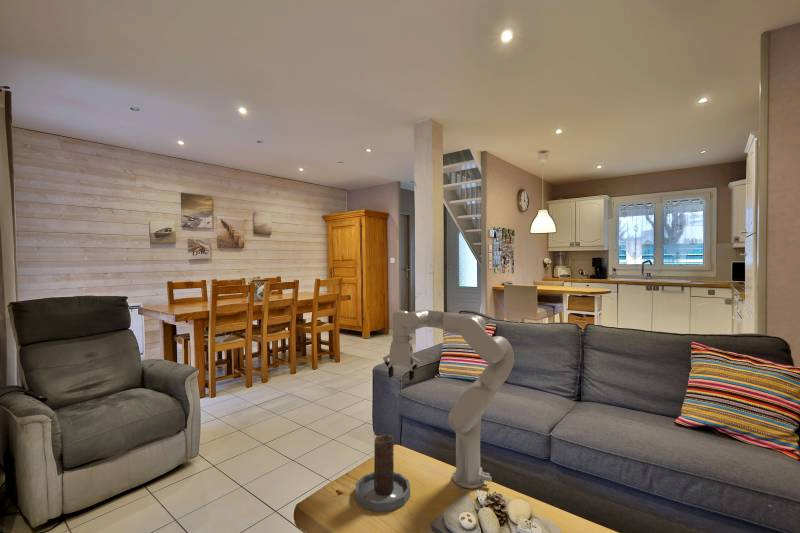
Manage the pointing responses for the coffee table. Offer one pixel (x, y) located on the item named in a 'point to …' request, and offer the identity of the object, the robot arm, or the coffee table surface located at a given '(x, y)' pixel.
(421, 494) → the coffee table surface
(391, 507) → the round tray
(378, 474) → the mottled brown cylinder
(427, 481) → the coffee table surface
